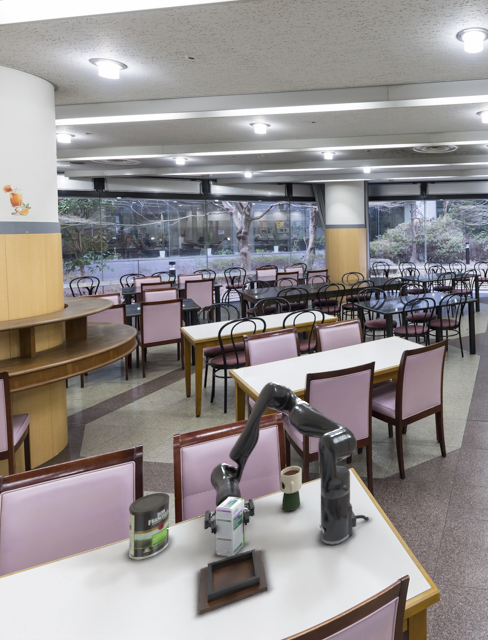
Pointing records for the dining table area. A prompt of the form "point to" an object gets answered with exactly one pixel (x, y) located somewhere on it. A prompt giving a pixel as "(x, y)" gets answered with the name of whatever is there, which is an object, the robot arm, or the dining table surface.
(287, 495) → the character mug
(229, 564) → the base pad
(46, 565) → the dining table surface
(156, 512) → the coffee can
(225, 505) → the syrup box
